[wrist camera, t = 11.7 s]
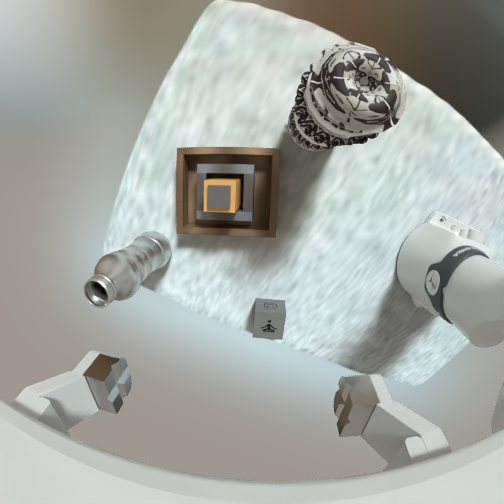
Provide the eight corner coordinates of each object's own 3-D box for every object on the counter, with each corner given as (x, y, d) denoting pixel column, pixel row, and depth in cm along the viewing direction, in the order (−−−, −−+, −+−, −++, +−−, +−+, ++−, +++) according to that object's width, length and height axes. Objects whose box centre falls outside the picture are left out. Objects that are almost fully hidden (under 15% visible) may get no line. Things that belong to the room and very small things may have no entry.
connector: (242, 178, 42) (235, 180, 33) (241, 203, 44) (234, 213, 34) (216, 177, 43) (203, 180, 33) (216, 202, 44) (202, 212, 35)
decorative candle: (341, 100, 38) (412, 41, 15) (343, 155, 41) (423, 145, 17) (285, 97, 39) (303, 22, 15) (286, 153, 42) (309, 133, 18)
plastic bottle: (171, 268, 48) (120, 326, 29) (137, 258, 48) (75, 308, 29) (177, 233, 46) (122, 277, 27) (142, 224, 46) (74, 260, 27)
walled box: (278, 150, 42) (280, 148, 36) (274, 231, 45) (275, 239, 40) (184, 149, 42) (174, 147, 37) (184, 227, 46) (174, 235, 41)
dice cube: (253, 322, 50) (252, 337, 46) (256, 297, 49) (254, 311, 44) (281, 324, 50) (282, 339, 46) (284, 300, 49) (286, 314, 44)
